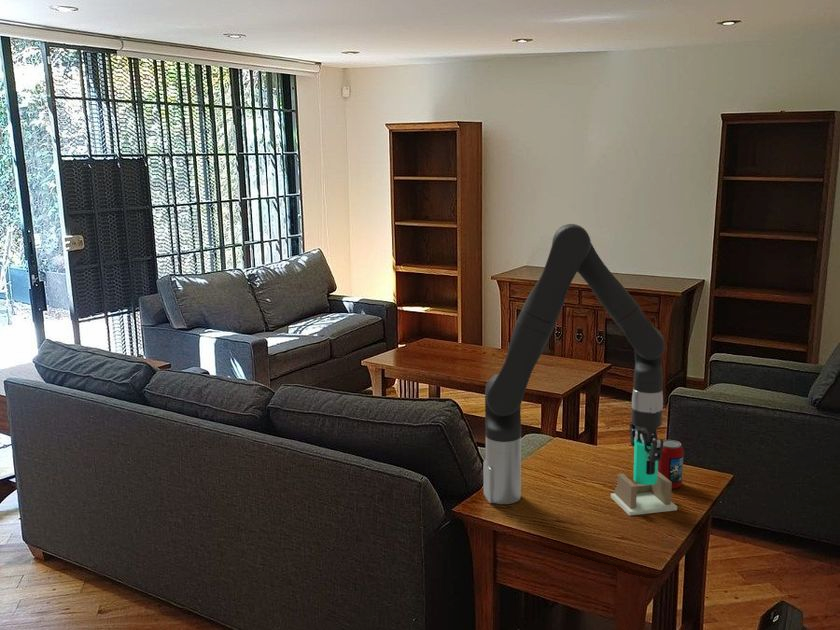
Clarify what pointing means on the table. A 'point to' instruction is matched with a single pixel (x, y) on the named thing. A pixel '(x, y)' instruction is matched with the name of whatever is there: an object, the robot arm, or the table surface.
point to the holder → (643, 496)
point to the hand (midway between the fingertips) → (644, 469)
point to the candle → (642, 466)
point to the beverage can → (672, 462)
